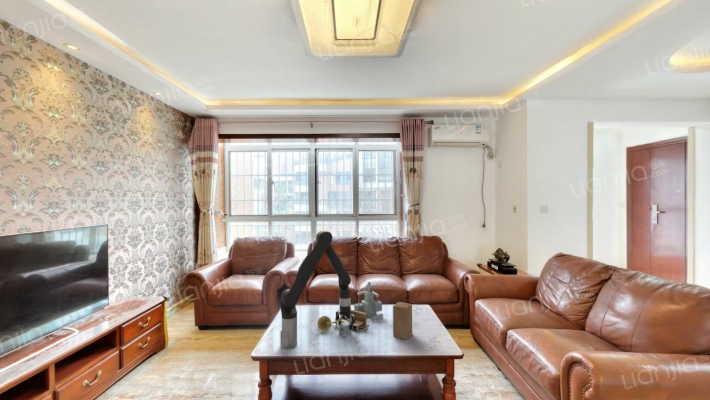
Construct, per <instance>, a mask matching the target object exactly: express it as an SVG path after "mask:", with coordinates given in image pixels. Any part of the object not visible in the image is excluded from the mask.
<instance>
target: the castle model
mask: <svg viewBox="0 0 710 400" xmlns="http://www.w3.org/2000/svg"><path fill="white" fill-rule="evenodd" d="M365 289H366V290H361V291H357V298H358V299H357V300H358V302H357V303H354V306H353V307H354V310H355V311H359V312H363V313H367V319H369V318H371V319H373V320H374V321H380V320H384V313H378V312H383V302H382V301H381V300H379V297H380V293H377V292H375V291H374V290H373V285H372V282H370V281H368V282H367V284H366V285H365ZM362 295H363V296H364V300H363V299H362V300H361V302H360V296H362ZM374 297H376V300H374Z"/></svg>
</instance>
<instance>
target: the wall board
mask: <svg viewBox="0 0 710 400" xmlns="http://www.w3.org/2000/svg"><path fill="white" fill-rule="evenodd" d="M350 313H351V314H355V323H354V324H353V327H356V331H357V332H359V328H360V329H367V328H368V327H370V324H367V323H368V322H367V319H368V318H367V313H363V312H359V311H355V309H354V310H353V309H351V312H350ZM350 317H351V316H350ZM341 322H342V323H344V322H348V321H347V320H345V319H344V320H343V319H342V320H341ZM348 323H349V322H348Z"/></svg>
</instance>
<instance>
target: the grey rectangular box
mask: <svg viewBox="0 0 710 400" xmlns="http://www.w3.org/2000/svg"><path fill="white" fill-rule="evenodd" d="M349 325H350V324H349V323H348V322H344V323H342V324H340V325H339V326H338V335H340V336H343V337H347V336H348V335H350V334H351V333H352V330H349Z"/></svg>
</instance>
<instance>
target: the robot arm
mask: <svg viewBox="0 0 710 400" xmlns="http://www.w3.org/2000/svg"><path fill="white" fill-rule="evenodd" d="M315 240H316V244H315V245H314V247H313V249H312V250H311V251H310V252H309V253H307V255H306V256H305V258H304V259H303V260H302V262H301V264H300V265H299V267H298V270H297V273H296V276H295V278H294V279H295V280H294V283H293V284H292V286H291V287H290V288H287V289H284V290H283V291H282V292H281V295H280V312H281V313H280V314H281V330H279V331H280V332H279V333H280V335H279V336H280V339H279V340H280V342H279V343H280V347H281V348H284V349H286V350H288V349H289V350H290V349H292V348H295V347H297V345H298V311H297V307H296V305H297V304H298V302H299V300H300V298H301V295H302V293H303V291H304V289H305V287H306V286H307V284H308V283H309V280H310V279H311V276H312V275H313V273H314V272H315V270H316V268H317V266H318V264H319V263H320V261H321V259H322V257H323V255H324V253H325V255H326V257H327V259H328V261H329V263H330V265H331V268H332V269H333V271H334V272H335V274H336V275H337V277H338V281H337V283H338V288H339V299H338V300H339V301H338V303H339V306H338V307H339V310H337V311H335V318H336V320H337V321H338V327H339V325H340V324H342V322H341V320H342V319H343V320H344V319H345V320H347V321H348V322H349V324H350V325H349V330H351V331H352V330H353V328H354V326H353V324H354V323H355V314H351V313H350V312H351V310H352V304H351V302H352V300H351V289H350V287H349V286H350V284H351V282H352V279H351V276H350V274H349V273H348V271H347V269H346V268H345V265H344V264H343V261H342V259H341V258H340V256H339V255H338V253H337V252H336V250H335V249H334V247H333V245H332V244H331V243H332V242H333V234H332V232H330V231H328V230H320V231H318V232H317V233H316V237H315ZM350 316H351V317H350Z"/></svg>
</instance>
